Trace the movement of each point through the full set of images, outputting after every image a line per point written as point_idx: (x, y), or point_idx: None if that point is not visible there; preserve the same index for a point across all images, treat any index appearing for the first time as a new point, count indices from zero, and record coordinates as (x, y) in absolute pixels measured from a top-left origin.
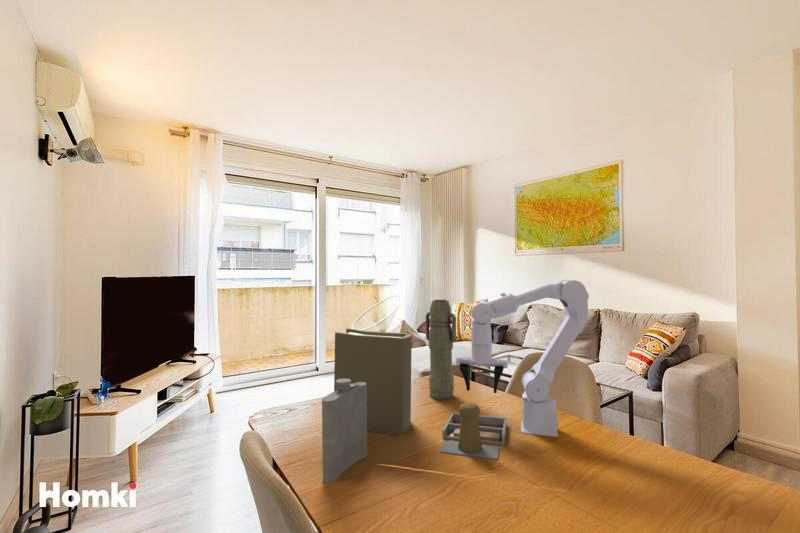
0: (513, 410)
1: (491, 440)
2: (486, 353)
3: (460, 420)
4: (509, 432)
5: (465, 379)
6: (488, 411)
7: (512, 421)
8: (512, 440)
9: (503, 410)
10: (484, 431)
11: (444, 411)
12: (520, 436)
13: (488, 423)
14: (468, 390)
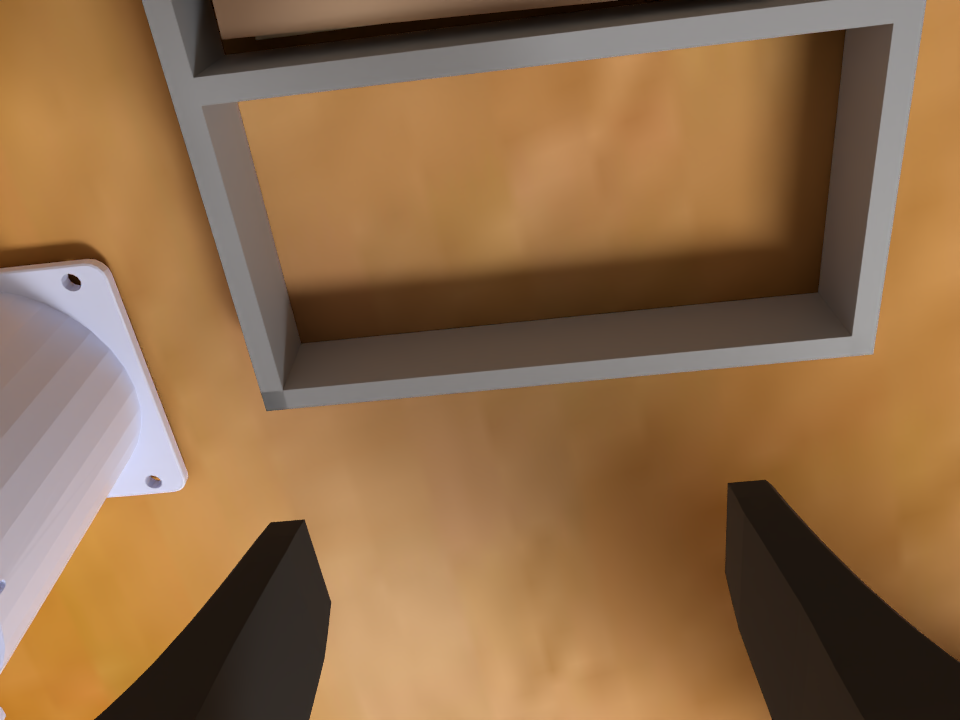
0: (340, 686)
1: None
2: None
3: (749, 312)
4: None
5: (875, 616)
6: (529, 616)
7: (278, 493)
8: (122, 58)
9: (415, 666)
10: (410, 18)
11: (932, 504)
12: (91, 194)
13: (453, 340)
14: (740, 484)
